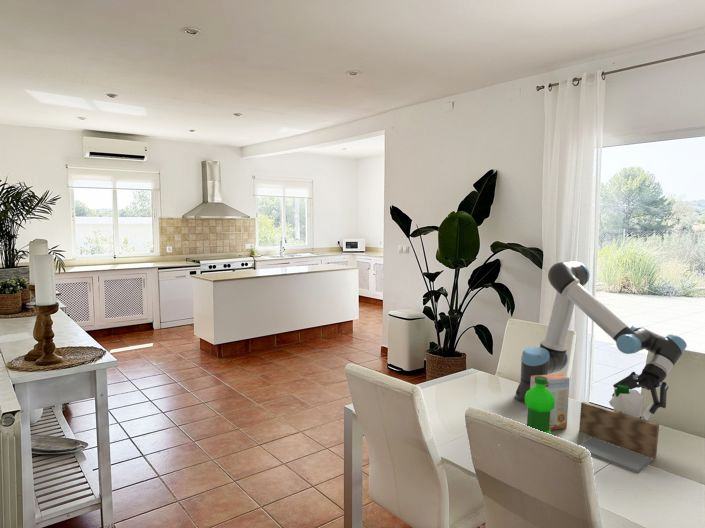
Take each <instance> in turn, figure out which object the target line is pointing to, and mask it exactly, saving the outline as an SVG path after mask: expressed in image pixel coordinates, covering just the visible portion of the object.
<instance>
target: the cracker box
mask: <svg viewBox="0 0 705 528" xmlns="http://www.w3.org/2000/svg"><path fill="white" fill-rule="evenodd" d="M535 376H543V377H546V378H547V384H545V388H546V389H548V390H549V391H550V392H551V393H552V394H553V395H554V399H555V405H554V409H553V410H551V411H550V423H549V429H550V431H552V430H551V429H555V430H562V429H563V430H564V429H567V428H568V427H567V426H568V410H569V392H570V377H568V376H566V375H564V374H562V373H551V374H548V375H535ZM535 376H531V380H530V389H531V388H533V387H535V386H536V383H535Z"/></svg>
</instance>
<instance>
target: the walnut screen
mask: <svg viewBox="0 0 705 528" xmlns="http://www.w3.org/2000/svg"><path fill="white" fill-rule="evenodd" d="M578 428H579V430H578V432H579V433H580V434H583V435H586V436H589V437H590V438H592V437H593V438H596V439H599V440H602V441H605V442H607V443H610V444H613V445H616V446H619V447H621V448H624V449H627V450H630V451H633V452H635V453H638V454H641V455H644V456H646V457H649V458H652V460H655V459H656V458H657V454H658V453H657V452H658V440H659V429H660V423H656V422H653V421H649V420H647V421H646V420H644V419H643V418H641V419H640V418H637V417H633V416H630V415H627V414H624V413H620V412H617V411H614V410H613V409H610V408H606V407H603V406H600V405H598V404H594V403H592V402H587V401H581V403H580V414H579V427H578Z"/></svg>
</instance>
